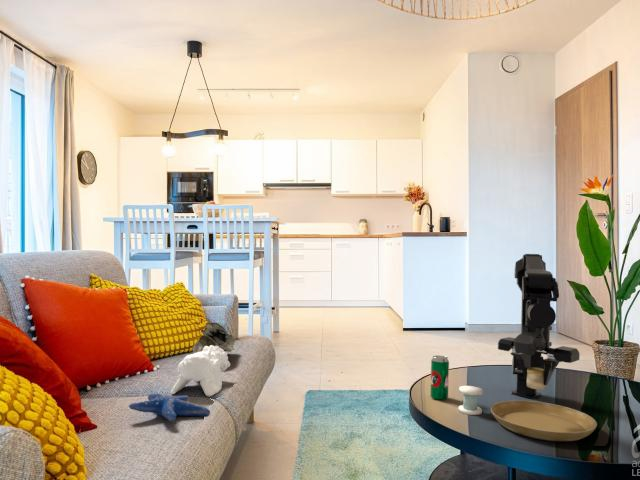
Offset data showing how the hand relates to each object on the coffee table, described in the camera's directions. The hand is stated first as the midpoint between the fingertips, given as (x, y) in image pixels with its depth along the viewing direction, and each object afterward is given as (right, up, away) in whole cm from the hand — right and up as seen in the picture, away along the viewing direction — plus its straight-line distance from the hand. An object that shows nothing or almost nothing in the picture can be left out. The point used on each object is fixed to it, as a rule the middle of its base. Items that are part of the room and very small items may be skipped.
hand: (536, 383), depth 127 cm
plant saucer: (0, -11, -3) cm, 11 cm away
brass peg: (0, -1, 0) cm, 1 cm away
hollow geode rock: (-94, -8, +59) cm, 111 cm away
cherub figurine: (-90, -8, +22) cm, 93 cm away
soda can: (-20, -10, +18) cm, 29 cm away
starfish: (-92, -8, -2) cm, 92 cm away
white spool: (-15, -10, +7) cm, 19 cm away
